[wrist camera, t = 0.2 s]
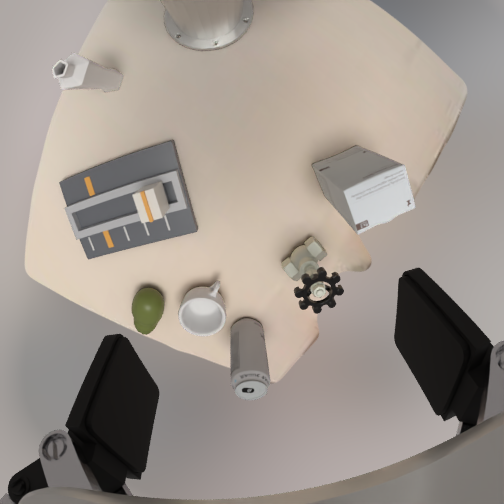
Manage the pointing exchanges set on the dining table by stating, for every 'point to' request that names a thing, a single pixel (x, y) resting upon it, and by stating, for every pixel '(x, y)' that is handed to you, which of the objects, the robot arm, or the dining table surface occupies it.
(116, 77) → the perfume bottle
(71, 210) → the console
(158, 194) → the fader
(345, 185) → the skincare box
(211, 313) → the teacup
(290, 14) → the dining table surface
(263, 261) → the dining table surface
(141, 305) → the pear
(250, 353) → the energy drink can
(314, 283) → the valve
